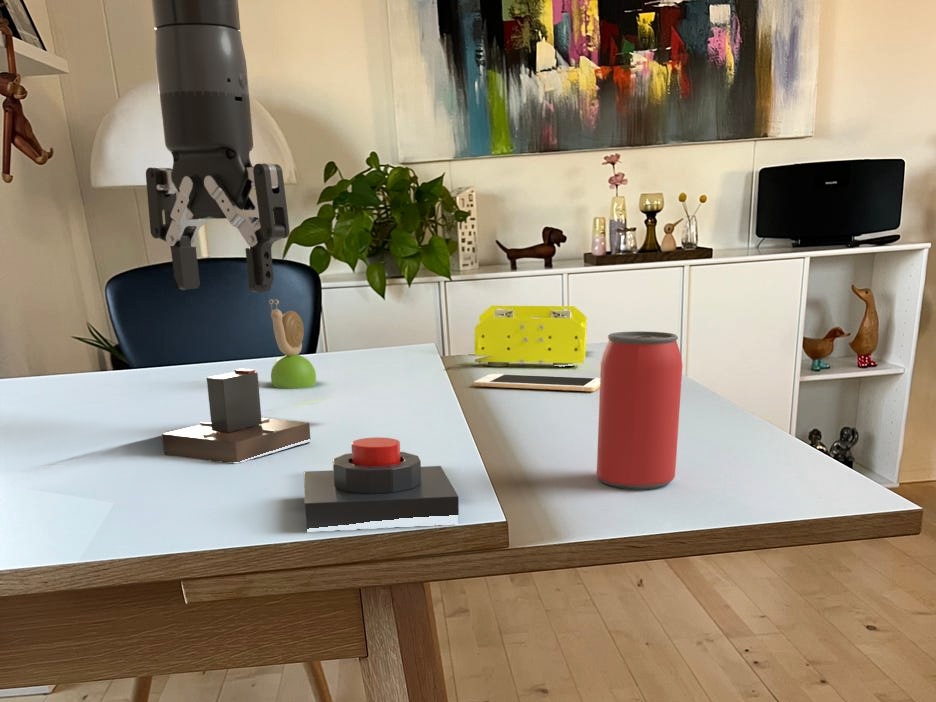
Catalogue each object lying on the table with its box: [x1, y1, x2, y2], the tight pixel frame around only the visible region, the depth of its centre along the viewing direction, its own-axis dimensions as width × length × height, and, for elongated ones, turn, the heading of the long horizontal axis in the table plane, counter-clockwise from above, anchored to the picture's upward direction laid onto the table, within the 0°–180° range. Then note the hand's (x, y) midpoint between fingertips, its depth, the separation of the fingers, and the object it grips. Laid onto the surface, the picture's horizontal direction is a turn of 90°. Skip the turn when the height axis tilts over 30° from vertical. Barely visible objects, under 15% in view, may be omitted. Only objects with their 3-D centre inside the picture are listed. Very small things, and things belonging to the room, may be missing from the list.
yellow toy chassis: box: [474, 305, 588, 367], centre depth 154 cm, size 16×6×8 cm, turn 82°
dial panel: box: [161, 417, 311, 463], centre depth 101 cm, size 11×9×2 cm
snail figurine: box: [268, 298, 317, 390], centre depth 125 cm, size 5×6×12 cm
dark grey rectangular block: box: [206, 368, 262, 433], centre depth 100 cm, size 5×2×5 cm, turn 151°
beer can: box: [596, 330, 683, 490], centre depth 86 cm, size 7×7×12 cm
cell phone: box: [473, 373, 600, 392], centre depth 137 cm, size 8×16×1 cm, turn 72°
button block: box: [303, 451, 460, 530], centre depth 79 cm, size 11×10×4 cm
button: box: [351, 436, 401, 466], centre depth 78 cm, size 4×4×2 cm
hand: (224, 290), depth 96 cm, fingers open, 8 cm apart
